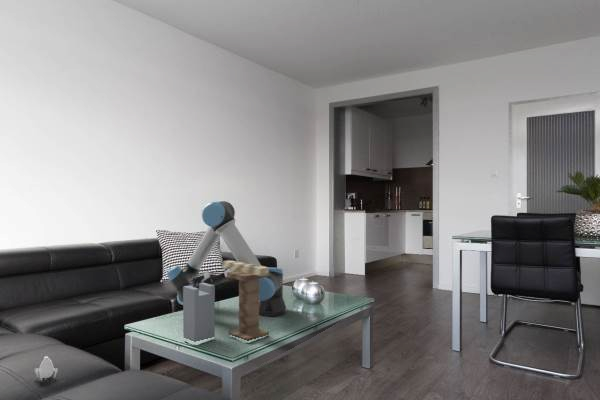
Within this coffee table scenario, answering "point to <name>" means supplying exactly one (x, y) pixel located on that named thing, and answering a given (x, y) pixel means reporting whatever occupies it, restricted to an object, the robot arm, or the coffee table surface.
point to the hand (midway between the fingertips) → (220, 271)
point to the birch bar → (245, 267)
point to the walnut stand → (248, 306)
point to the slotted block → (199, 312)
